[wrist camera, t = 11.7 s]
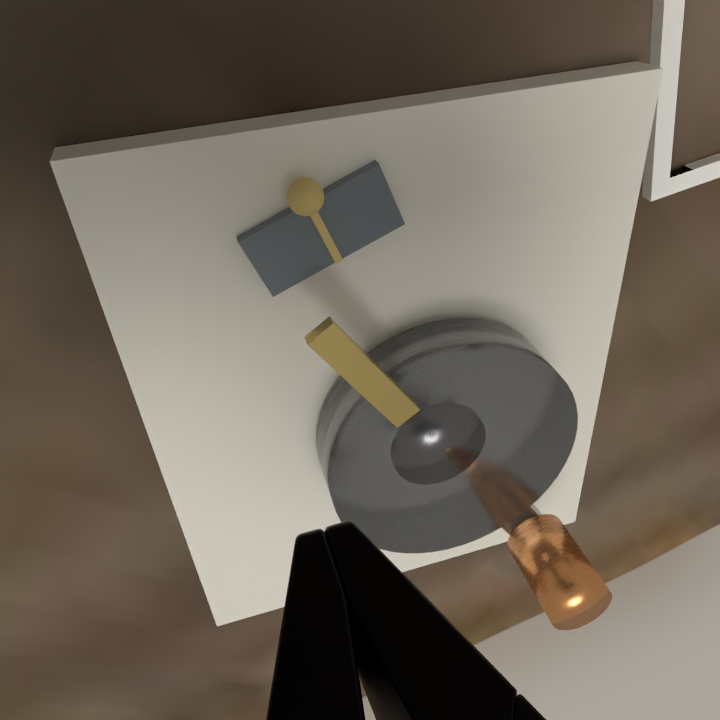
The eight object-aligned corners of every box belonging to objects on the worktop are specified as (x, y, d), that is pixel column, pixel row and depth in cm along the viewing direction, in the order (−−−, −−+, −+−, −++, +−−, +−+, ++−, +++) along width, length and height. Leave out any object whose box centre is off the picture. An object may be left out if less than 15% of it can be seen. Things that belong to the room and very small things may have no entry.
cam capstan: (190, 381, 20) (204, 514, 15) (419, 188, 18) (508, 273, 14) (442, 568, 29) (496, 684, 24) (608, 450, 27) (697, 551, 23)
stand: (54, 147, 16) (43, 177, 14) (637, 61, 19) (691, 76, 17) (214, 602, 28) (219, 652, 26) (561, 503, 31) (589, 541, 29)
